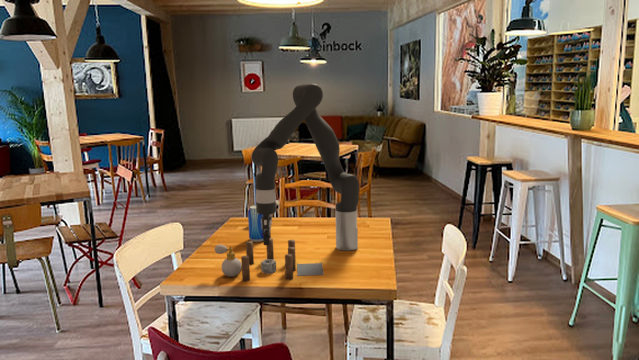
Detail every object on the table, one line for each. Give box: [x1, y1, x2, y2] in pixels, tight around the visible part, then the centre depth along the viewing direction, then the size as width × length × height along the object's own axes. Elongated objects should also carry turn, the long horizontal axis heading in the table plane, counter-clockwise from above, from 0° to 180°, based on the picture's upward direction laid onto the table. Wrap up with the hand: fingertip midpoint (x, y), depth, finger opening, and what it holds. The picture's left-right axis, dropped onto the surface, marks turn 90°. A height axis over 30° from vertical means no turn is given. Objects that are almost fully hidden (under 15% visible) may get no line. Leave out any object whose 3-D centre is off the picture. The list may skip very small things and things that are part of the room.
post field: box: [240, 237, 297, 282], centre depth 184 cm, size 20×23×9 cm
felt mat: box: [296, 262, 325, 277], centre depth 184 cm, size 10×12×1 cm
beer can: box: [247, 204, 265, 243], centre depth 220 cm, size 8×8×16 cm
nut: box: [260, 258, 277, 275], centre depth 183 cm, size 6×5×4 cm
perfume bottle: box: [214, 244, 242, 278], centre depth 178 cm, size 8×10×12 cm
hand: (267, 241), depth 181 cm, fingers open, 8 cm apart
